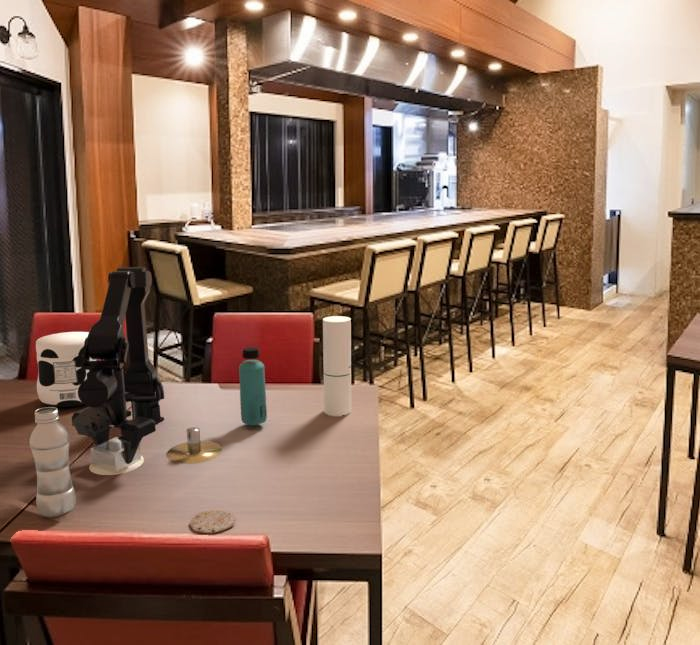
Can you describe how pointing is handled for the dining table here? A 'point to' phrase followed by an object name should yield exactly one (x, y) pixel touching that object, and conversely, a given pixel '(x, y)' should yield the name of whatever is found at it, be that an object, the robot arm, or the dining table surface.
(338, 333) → the cylindrical container
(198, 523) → the flatbread
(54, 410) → the plastic bottle
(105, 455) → the collar
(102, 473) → the stand
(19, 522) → the dining table surface
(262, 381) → the beverage bottle
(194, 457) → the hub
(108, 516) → the dining table surface
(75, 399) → the milk container
